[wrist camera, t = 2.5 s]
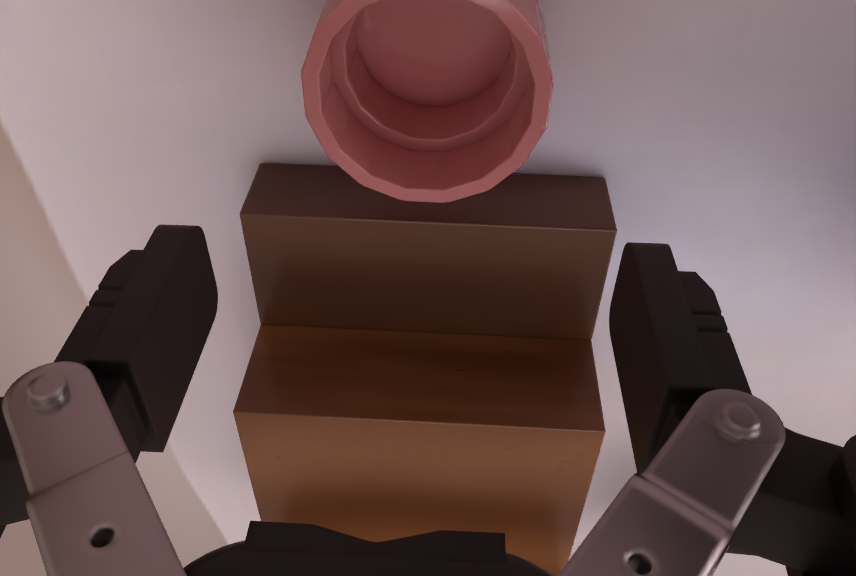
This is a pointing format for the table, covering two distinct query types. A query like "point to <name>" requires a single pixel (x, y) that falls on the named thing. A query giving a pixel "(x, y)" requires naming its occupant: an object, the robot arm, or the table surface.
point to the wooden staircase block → (425, 357)
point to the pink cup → (428, 92)
